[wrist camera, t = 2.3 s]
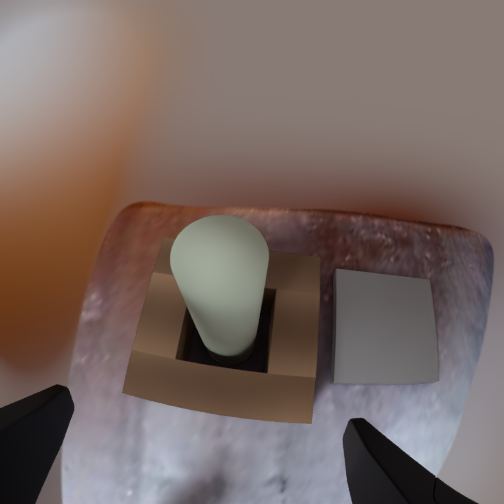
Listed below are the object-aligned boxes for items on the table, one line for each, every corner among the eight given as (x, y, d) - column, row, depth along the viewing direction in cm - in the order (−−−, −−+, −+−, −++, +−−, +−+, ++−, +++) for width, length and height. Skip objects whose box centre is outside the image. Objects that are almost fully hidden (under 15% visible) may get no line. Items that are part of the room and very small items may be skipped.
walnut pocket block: (298, 423, 18) (311, 423, 15) (142, 398, 18) (122, 392, 15) (309, 282, 24) (320, 256, 20) (174, 265, 24) (163, 237, 21)
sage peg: (251, 368, 20) (263, 307, 10) (201, 360, 20) (158, 291, 10) (257, 321, 22) (273, 220, 12) (209, 314, 22) (183, 210, 12)
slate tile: (432, 382, 19) (438, 380, 18) (329, 384, 19) (333, 382, 19) (424, 284, 24) (429, 279, 23) (332, 274, 24) (336, 268, 23)
